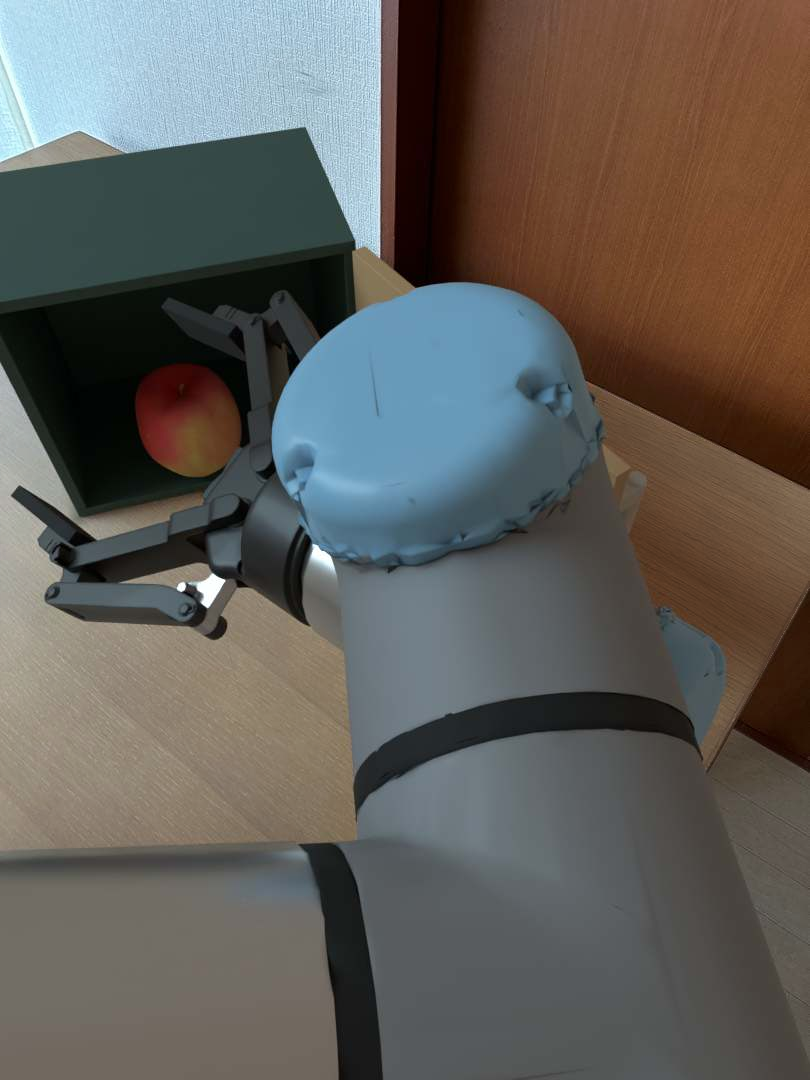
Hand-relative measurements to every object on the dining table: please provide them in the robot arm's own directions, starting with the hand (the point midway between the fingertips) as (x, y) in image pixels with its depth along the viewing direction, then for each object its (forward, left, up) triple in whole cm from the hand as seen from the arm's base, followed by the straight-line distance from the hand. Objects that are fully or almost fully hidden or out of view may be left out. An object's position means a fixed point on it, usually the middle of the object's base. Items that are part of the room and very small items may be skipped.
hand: (107, 407), depth 48 cm
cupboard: (+5, +26, -27) cm, 38 cm away
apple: (+3, +20, -26) cm, 33 cm away
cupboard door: (+26, +3, -27) cm, 38 cm away
